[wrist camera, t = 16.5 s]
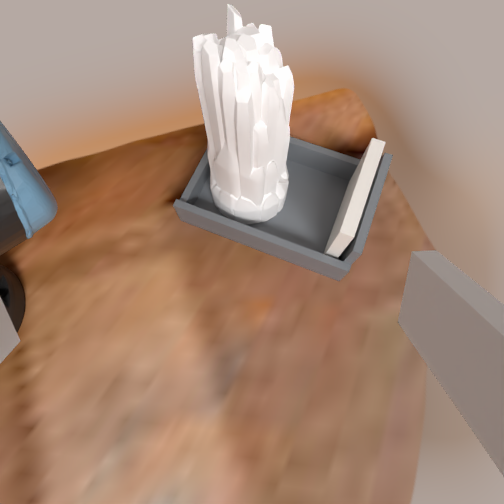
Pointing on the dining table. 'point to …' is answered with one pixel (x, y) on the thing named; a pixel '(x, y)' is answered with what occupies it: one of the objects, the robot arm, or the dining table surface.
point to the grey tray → (293, 209)
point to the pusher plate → (354, 200)
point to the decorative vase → (245, 118)
